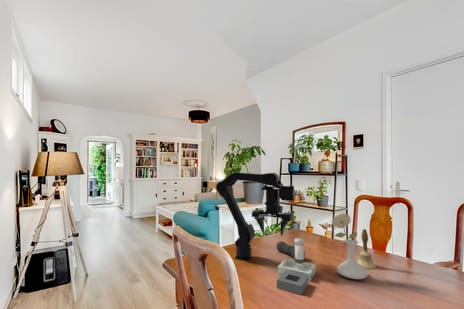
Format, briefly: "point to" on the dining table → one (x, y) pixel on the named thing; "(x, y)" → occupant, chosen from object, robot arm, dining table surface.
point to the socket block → (292, 282)
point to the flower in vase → (350, 265)
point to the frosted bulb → (299, 254)
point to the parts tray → (290, 267)
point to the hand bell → (365, 254)
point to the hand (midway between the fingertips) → (272, 233)
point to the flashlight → (287, 249)
